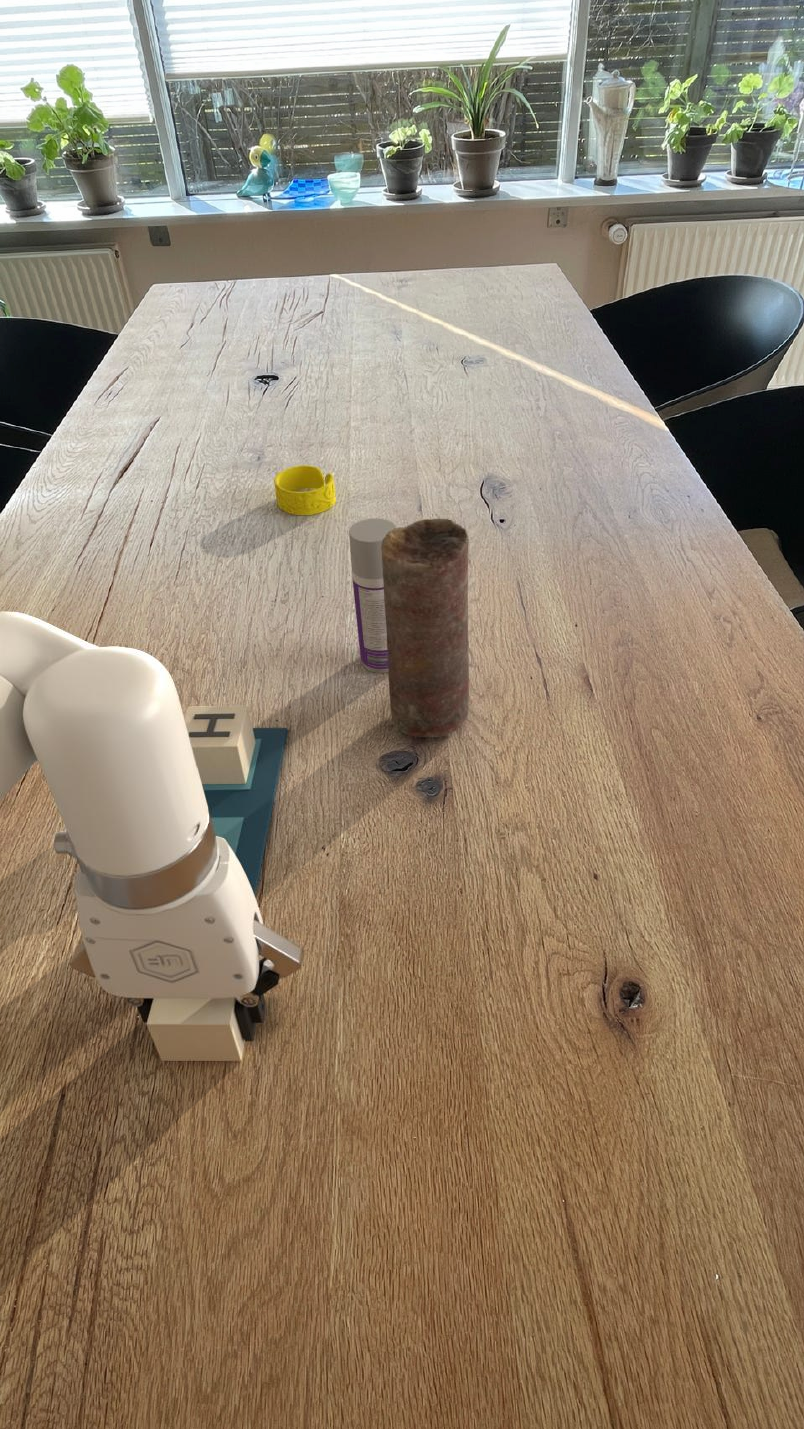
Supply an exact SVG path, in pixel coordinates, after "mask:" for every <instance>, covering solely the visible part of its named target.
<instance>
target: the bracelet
mask: <svg viewBox="0 0 804 1429" xmlns="http://www.w3.org/2000/svg"><path fill="white" fill-rule="evenodd" d="M334 478H335V477H334V474H333V473H331V472H328V473H326V474H325V476H324V474H323V472H322V470H321V468H319V467H317V466H315V465H310V464H309V465H308V464H302V465H294V466H291V467H288V468H286V469H283V470H281V471H279V472H278V473H277V474H276V475H275V477H274V479H273V483H274V489H275V498H276V501H277V507H278V509H280V510H282V511H283V512H285V513H287V514H290V515H294V516H312V515H318V514H320V513H324V512H326V511H328V510H329V509H331V508H332V507H334V505H335V504H336V502H337V498H336V485H335V484H336V483H335V480H334ZM308 489H312V490H308ZM299 490H306V491H299Z"/></svg>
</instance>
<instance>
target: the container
mask: <svg viewBox="0 0 804 1429" xmlns="http://www.w3.org/2000/svg"><path fill="white" fill-rule="evenodd" d="M394 528H397V526H396V524H395V523H394V522H392V521H391V520H388V519H385V518H379V517H377V518H375V517H374V518H373V517H372V518H366V519H362V520H359V521H357V522H355V523H353V524H352V525H351V526H350V527H349V530H348V538H349V550H350V564H351V578H352V579H351V580H352V589H353V598H354V607H355V618H356V627H357V637H358V646H359V654H360V656H359V657H360V663H361V665H362V667H363V668H365V669H366V670H367V671H369V672H372V673H377V674H387V673H389V671H388V652H387V629H386V616H385V603H384V584H383V567H382V552H381V546H382V541H383V538H384V537H385V536H386V534H387V533H388V532H389V531H391V530H393V529H394Z"/></svg>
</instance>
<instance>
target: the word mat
mask: <svg viewBox="0 0 804 1429" xmlns="http://www.w3.org/2000/svg"><path fill="white" fill-rule="evenodd" d="M252 728H253V733H254V738H255V747H254V751H253V755H252V759H251V764H250V768H249V772H248V777H247V781H246V784H202V787H203V791H204V794H205V798H206V802H207V806H208V810H209V813H210V817H211V821H212V825H213V828H214V832H215V836H218V837H222V838H224V839H225V840H226V842H227V843H228V845H229V846H230V847H231V849H232V850H233V852H234V854H235V855H236V857H237V859H238V861H239V862H240V864H241V866H242V868H243V870H244V872H245V874H246V876H247V878H248V881H249V883H250V886H251V888H252V890H253V893H254V896H255V897H256V895H257V890H258V884H259V880H260V875H261V869H262V864H263V859H264V855H265V848H266V843H267V838H268V833H269V828H270V825H271V824H270V823H271V819H272V814H273V812H272V811H273V808H274V803H275V798H276V792H277V788H278V783H279V778H280V773H281V772H280V771H281V767H282V762H283V757H284V752H285V747H286V742H287V737H288V727H252Z"/></svg>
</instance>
